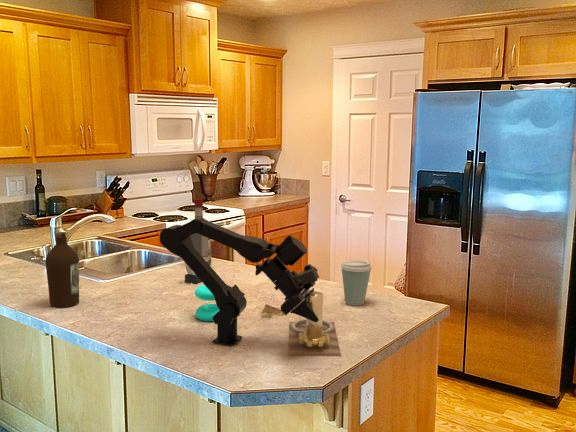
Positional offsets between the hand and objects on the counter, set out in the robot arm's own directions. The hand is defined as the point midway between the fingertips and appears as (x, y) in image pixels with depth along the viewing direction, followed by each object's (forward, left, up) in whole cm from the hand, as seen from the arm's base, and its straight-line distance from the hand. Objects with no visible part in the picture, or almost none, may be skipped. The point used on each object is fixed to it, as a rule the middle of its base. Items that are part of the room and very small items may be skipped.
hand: (319, 318), depth 150 cm
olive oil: (+6, +94, -9) cm, 94 cm away
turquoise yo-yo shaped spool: (+13, +41, -9) cm, 44 cm away
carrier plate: (+6, +4, -9) cm, 12 cm away
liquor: (+71, +78, -9) cm, 106 cm away
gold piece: (0, +1, -7) cm, 7 cm away
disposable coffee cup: (+45, +1, -9) cm, 46 cm away
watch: (+47, +67, -9) cm, 82 cm away
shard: (+23, +25, -10) cm, 35 cm away
